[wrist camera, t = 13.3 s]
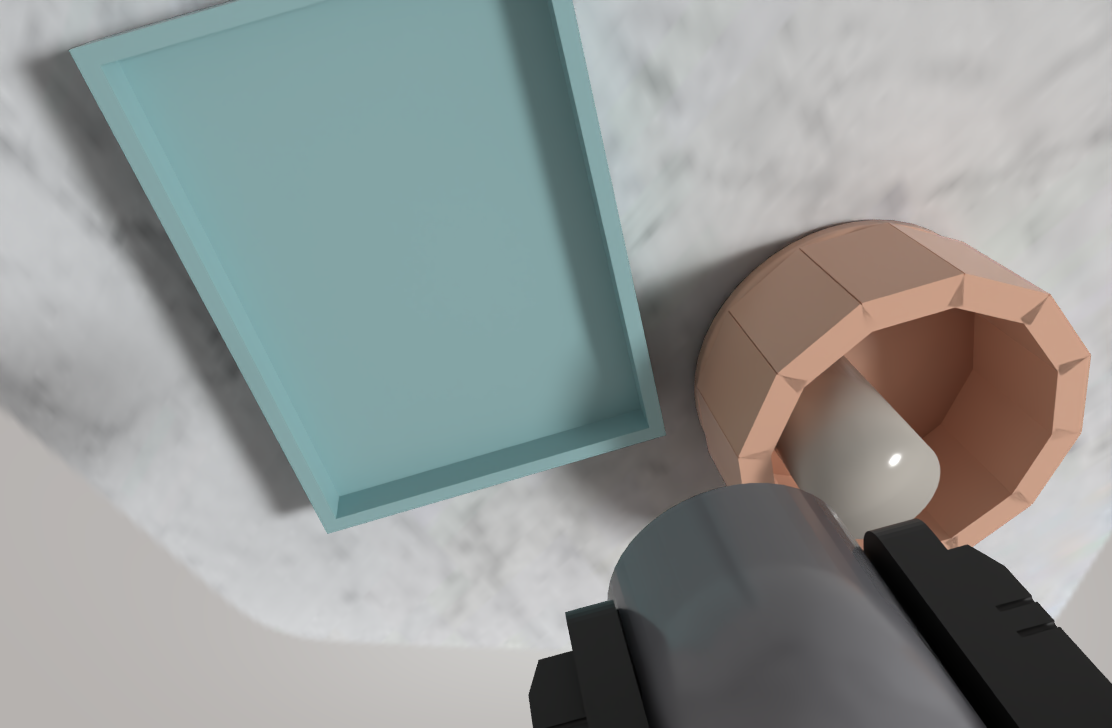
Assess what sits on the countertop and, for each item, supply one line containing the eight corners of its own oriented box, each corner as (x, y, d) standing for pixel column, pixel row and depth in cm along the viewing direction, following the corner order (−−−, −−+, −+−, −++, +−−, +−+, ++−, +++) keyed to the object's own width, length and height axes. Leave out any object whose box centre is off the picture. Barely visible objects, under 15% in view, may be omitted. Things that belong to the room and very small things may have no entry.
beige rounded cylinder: (746, 359, 27) (814, 455, 22) (853, 333, 27) (943, 423, 22) (753, 447, 29) (817, 551, 24) (853, 421, 29) (936, 521, 24)
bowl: (670, 273, 26) (719, 344, 22) (993, 179, 26) (1106, 232, 22) (716, 518, 32) (763, 614, 27) (982, 441, 32) (1070, 524, 27)
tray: (94, 40, 20) (68, 50, 19) (543, -90, 20) (552, -91, 19) (332, 502, 28) (327, 533, 27) (653, 408, 29) (666, 435, 27)
